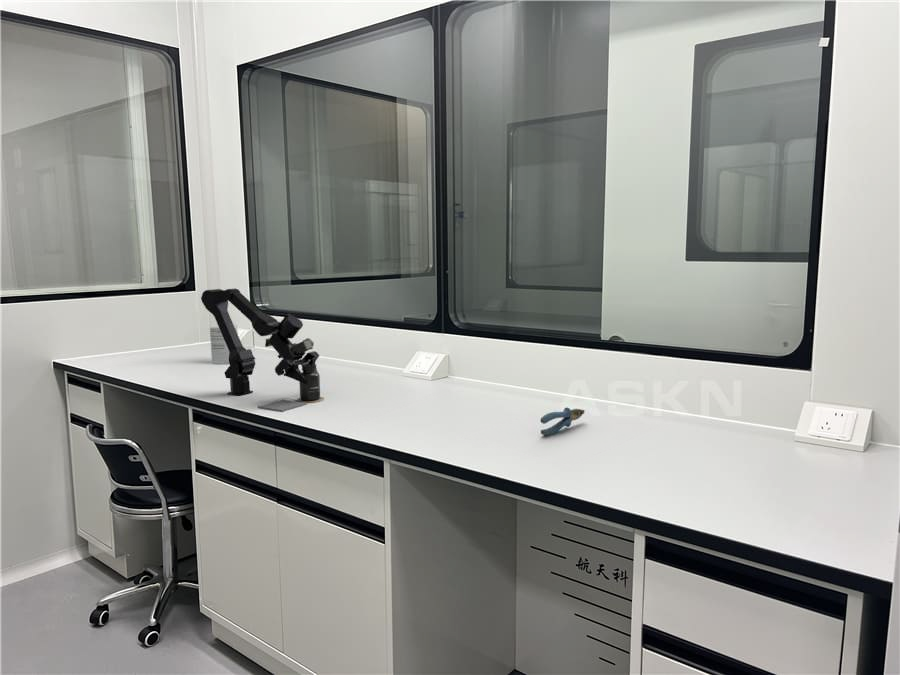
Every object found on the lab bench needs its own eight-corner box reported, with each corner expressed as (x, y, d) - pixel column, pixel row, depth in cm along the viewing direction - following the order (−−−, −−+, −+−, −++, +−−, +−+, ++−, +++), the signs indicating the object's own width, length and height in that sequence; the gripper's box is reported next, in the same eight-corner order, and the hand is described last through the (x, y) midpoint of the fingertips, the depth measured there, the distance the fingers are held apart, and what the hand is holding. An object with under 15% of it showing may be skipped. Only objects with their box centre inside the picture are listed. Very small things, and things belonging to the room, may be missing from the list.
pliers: (579, 421, 195) (580, 401, 194) (586, 423, 194) (586, 403, 193) (538, 436, 181) (538, 415, 180) (544, 437, 179) (544, 416, 179)
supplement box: (221, 360, 312) (219, 324, 310) (240, 360, 311) (238, 324, 308) (211, 364, 302) (209, 327, 300) (230, 364, 301) (228, 327, 299)
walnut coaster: (291, 401, 227) (291, 400, 227) (309, 395, 234) (309, 395, 234) (311, 404, 222) (311, 403, 222) (329, 398, 230) (329, 398, 230)
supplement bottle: (315, 401, 224) (314, 366, 222) (296, 401, 225) (295, 366, 224) (323, 397, 231) (322, 363, 229) (305, 396, 232) (303, 362, 230)
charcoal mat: (258, 407, 218) (257, 406, 218) (282, 400, 227) (282, 399, 227) (282, 411, 212) (282, 410, 212) (306, 404, 222) (306, 403, 222)
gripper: (280, 335, 218) (310, 370, 215) (313, 328, 235) (341, 361, 232) (262, 357, 222) (291, 392, 219) (296, 349, 239) (323, 381, 236)
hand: (313, 381), depth 227 cm, fingers closed on supplement bottle, 7 cm apart
